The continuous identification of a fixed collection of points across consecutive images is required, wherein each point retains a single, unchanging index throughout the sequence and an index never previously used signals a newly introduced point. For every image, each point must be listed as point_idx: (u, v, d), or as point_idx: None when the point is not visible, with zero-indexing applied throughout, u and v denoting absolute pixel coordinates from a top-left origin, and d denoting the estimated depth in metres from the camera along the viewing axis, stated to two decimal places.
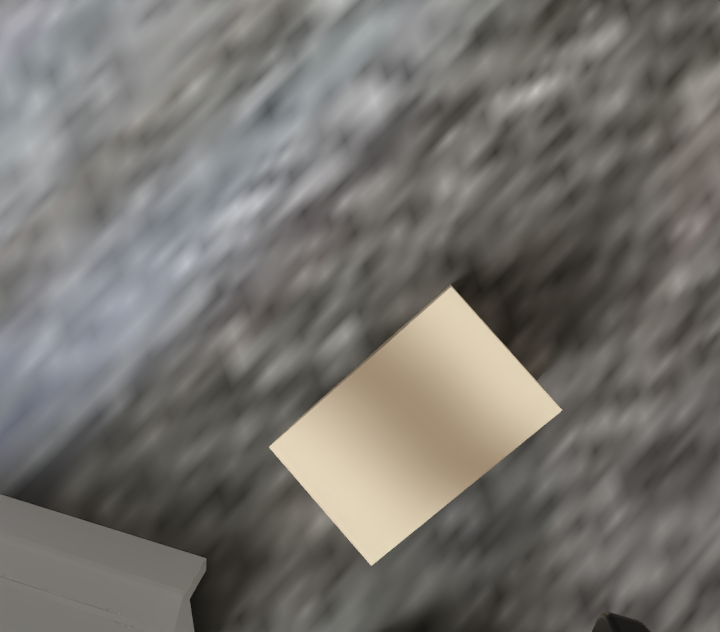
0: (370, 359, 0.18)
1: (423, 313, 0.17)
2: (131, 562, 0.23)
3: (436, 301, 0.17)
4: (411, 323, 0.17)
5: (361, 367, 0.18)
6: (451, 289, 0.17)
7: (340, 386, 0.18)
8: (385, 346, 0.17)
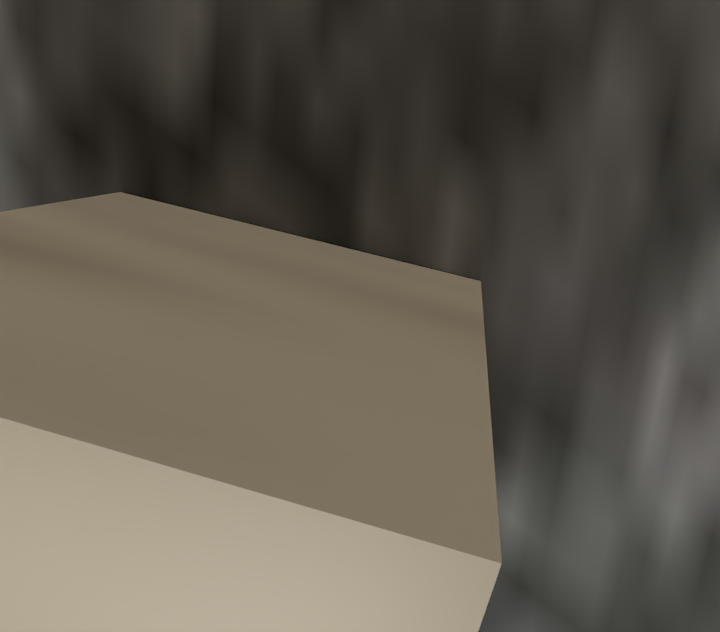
0: None
1: None
2: None
3: None
4: None
5: None
6: None
7: None
8: None
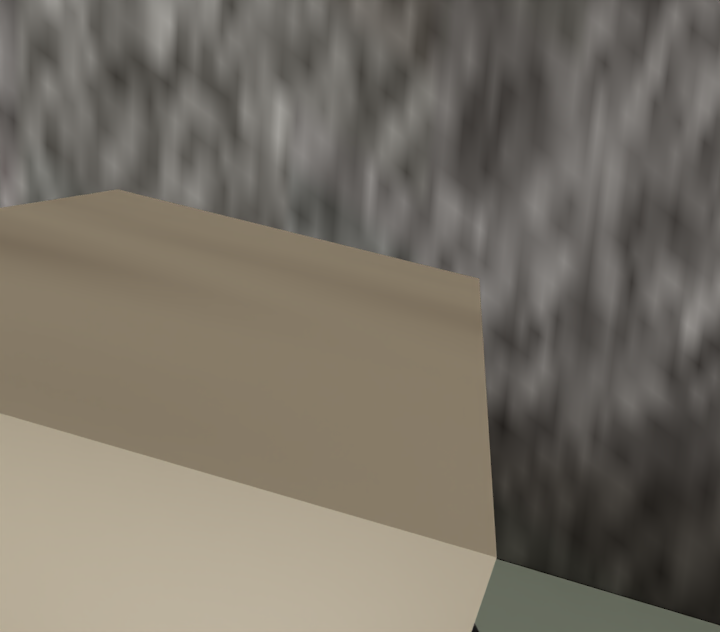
0: None
1: None
2: None
3: None
4: None
5: None
6: None
7: None
8: None
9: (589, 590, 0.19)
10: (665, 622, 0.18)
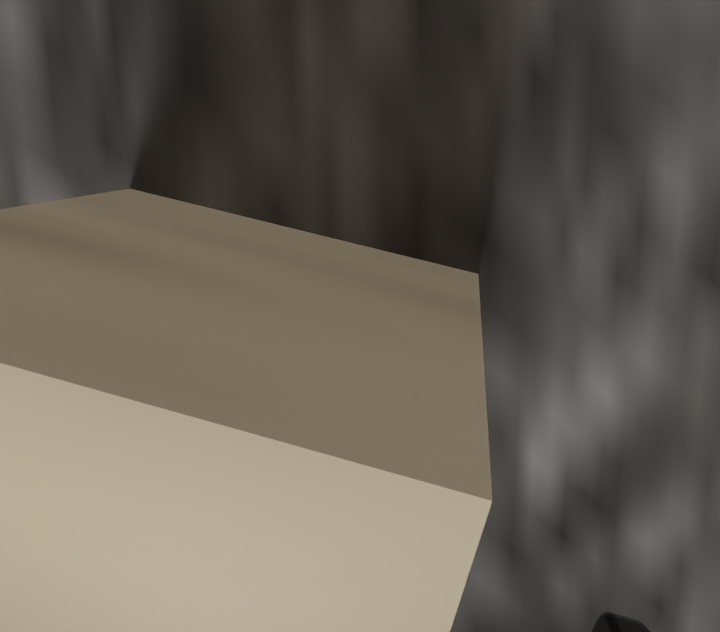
0: None
1: None
2: None
3: None
4: None
5: None
6: None
7: None
8: None
9: None
10: None
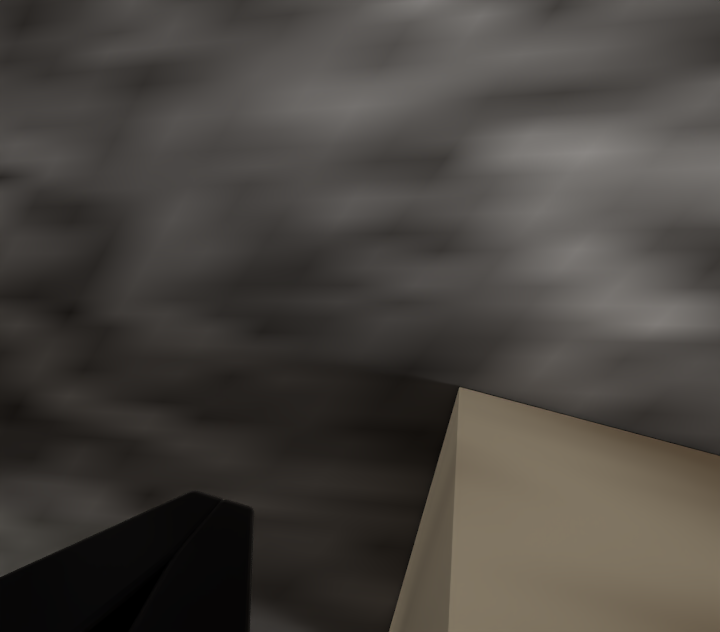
0: None
1: None
2: None
3: None
4: None
5: None
6: None
7: None
8: None
9: None
10: None
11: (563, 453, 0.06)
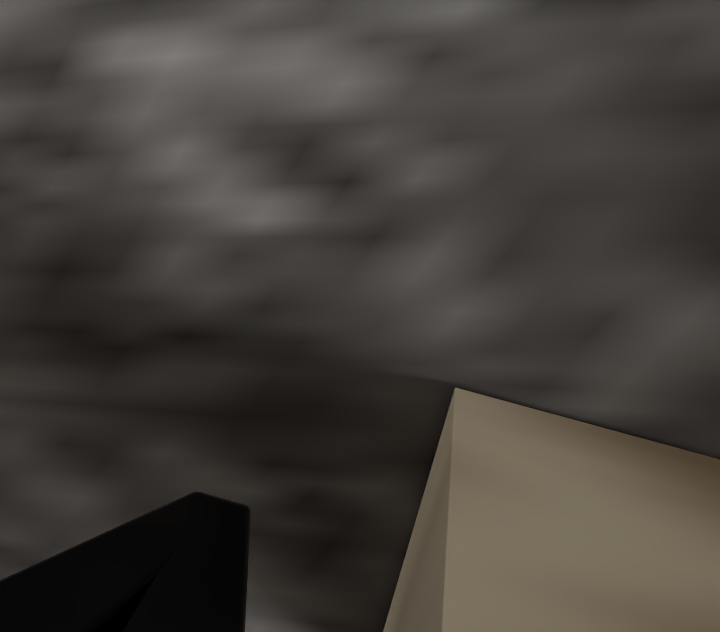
0: None
1: None
2: None
3: None
4: None
5: None
6: None
7: None
8: None
9: None
10: None
11: (559, 455, 0.06)
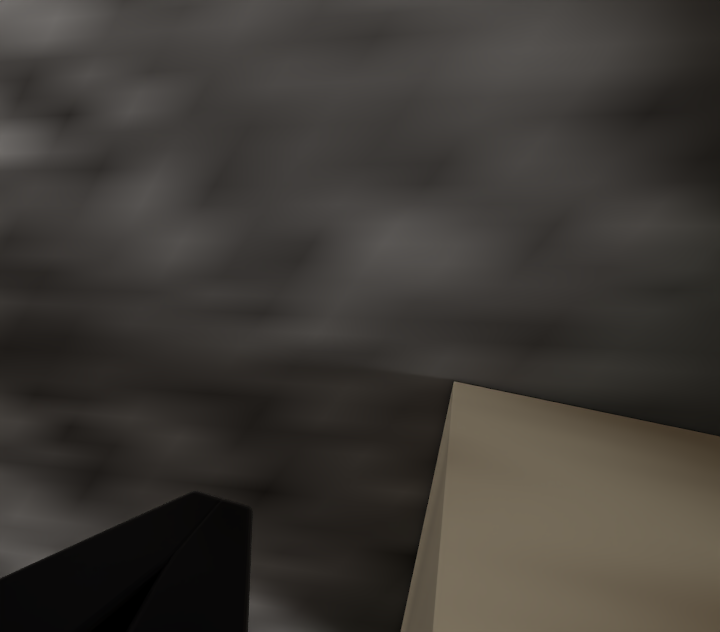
0: None
1: None
2: None
3: None
4: None
5: None
6: None
7: None
8: None
9: None
10: None
11: (558, 441, 0.06)
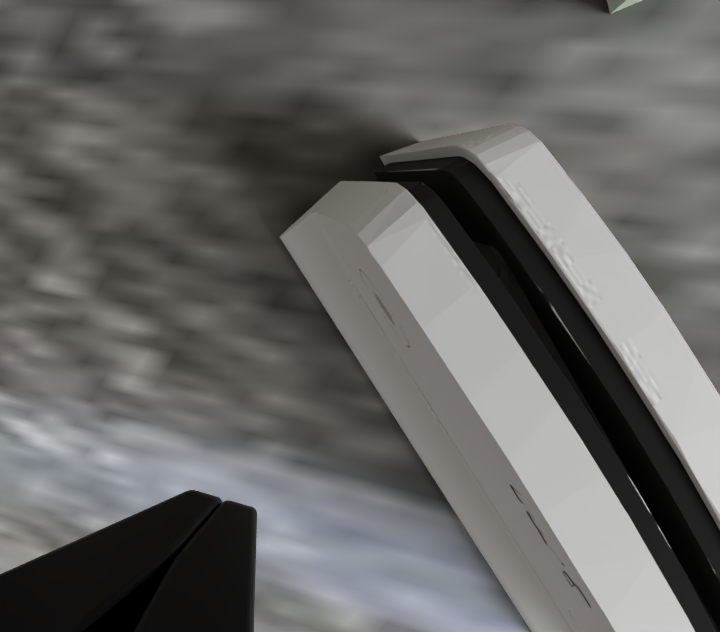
0: None
1: None
2: (325, 308, 0.18)
3: None
4: None
5: None
6: None
7: None
8: None
9: None
10: None
11: None
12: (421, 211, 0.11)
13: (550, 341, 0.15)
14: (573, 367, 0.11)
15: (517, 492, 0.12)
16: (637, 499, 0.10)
